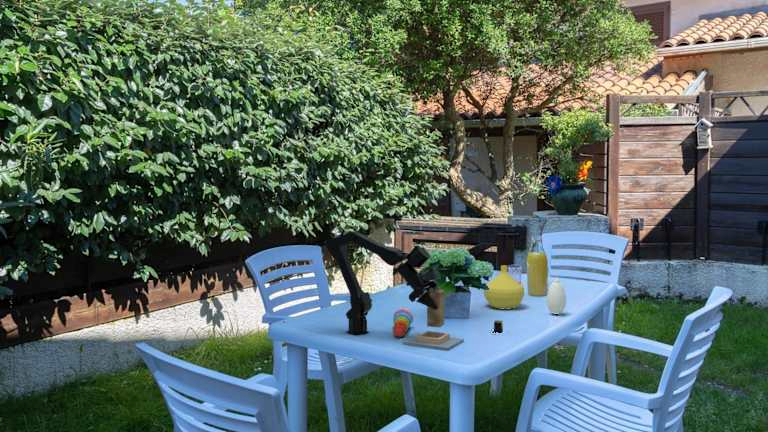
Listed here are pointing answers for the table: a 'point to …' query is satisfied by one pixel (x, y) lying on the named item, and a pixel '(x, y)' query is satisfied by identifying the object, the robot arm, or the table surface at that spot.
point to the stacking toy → (402, 321)
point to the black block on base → (498, 326)
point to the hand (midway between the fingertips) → (439, 307)
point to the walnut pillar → (437, 316)
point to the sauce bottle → (556, 297)
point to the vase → (504, 291)
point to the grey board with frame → (434, 340)
